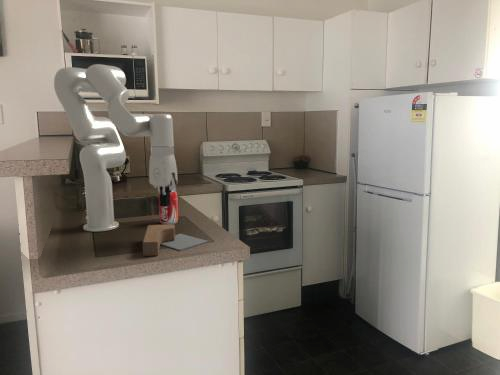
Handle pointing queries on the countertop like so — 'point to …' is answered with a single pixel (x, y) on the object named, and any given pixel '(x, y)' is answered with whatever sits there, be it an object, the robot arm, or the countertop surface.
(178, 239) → the rubber mat
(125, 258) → the countertop surface
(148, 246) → the wooden block
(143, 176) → the countertop surface
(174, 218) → the soda can
